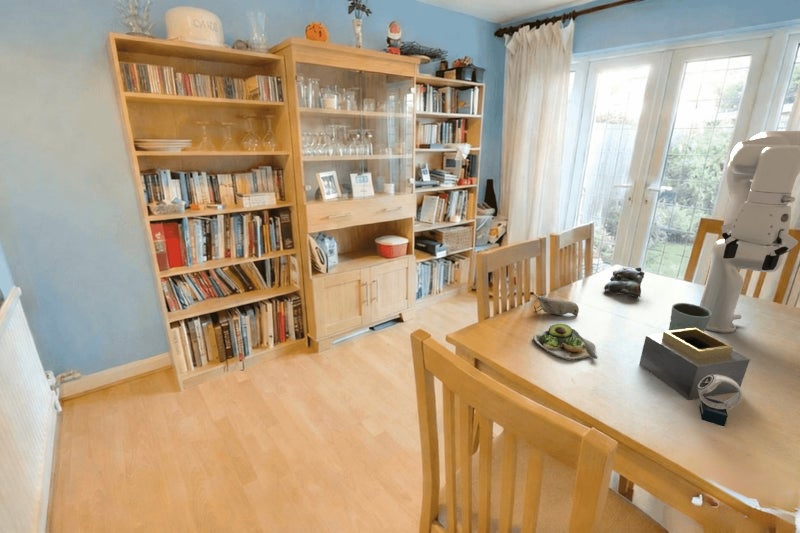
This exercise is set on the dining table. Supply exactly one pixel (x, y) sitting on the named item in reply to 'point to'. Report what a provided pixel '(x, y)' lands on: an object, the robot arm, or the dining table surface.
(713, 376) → the watch
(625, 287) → the dark grey lumpy piece
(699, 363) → the housing
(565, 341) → the salad plate
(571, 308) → the decorative bird
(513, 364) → the dining table surface
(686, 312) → the grey-green pot
